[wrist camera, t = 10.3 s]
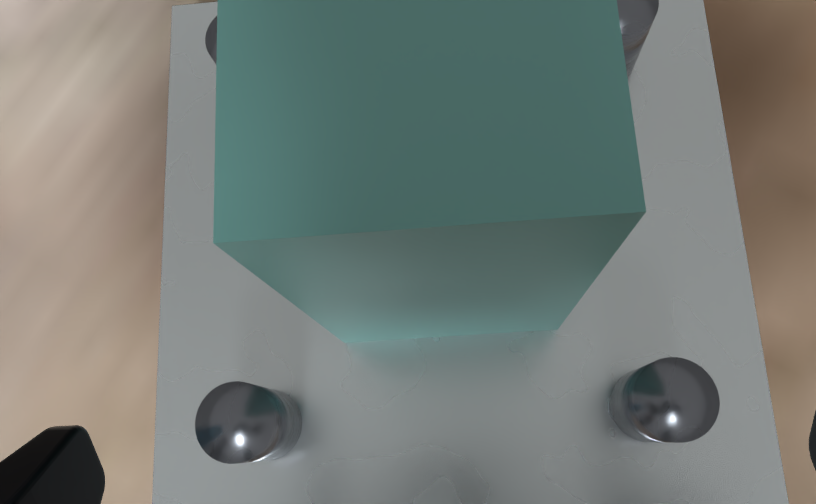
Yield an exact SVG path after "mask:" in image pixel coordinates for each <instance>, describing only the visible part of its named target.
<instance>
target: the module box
mask: <svg viewBox="0 0 816 504" xmlns="http://www.w3.org/2000/svg"><path fill="white" fill-rule="evenodd" d="M645 213H646V206H645V199H644V192H643V185H642V178H641V170H640V163H639V156H638V149H637V142H636V135H635V127H634V120H633V113H632V106H631V99H630V92H629V85H628V77H627V70H626V63H625V56H624V49H623V42H622V34H621V27H620V20H619V13H618V6H617V0H218V5H217V60H216V115H215V170H214V225H213V244H215V245H216V246H217V247H219V248H220V249H221V250H223V251H224V252H225V253H227V254H228V255H229V256H231V257H232V258H233V259H235V260H236V261H237V262H238V263H240V264H241V265H242V266H244V267H245V268H246V269H248V270H249V271H250V272H252V273H253V274H254V275H256V276H257V277H258V278H260V279H261V280H262V281H263V282H265V283H266V284H267V285H269V286H270V287H271V288H273V289H274V290H275V291H277V292H278V293H279V294H281V295H282V296H283V297H285V298H286V299H287V300H288V301H290V302H291V303H292V304H294V305H295V306H296V307H298V308H299V309H300V310H302V311H303V312H304V313H306V314H307V315H308V316H310V317H311V318H312V319H313V320H315V321H316V322H317V323H319V324H320V325H321V326H323V327H324V328H325V329H327V330H328V331H329V332H331V333H332V334H333V335H334V336H336V337H337V338H338V339H340V340H341V341H342V342H344V343H348V342H364V341H380V340H396V339H412V338H428V337H444V336H460V335H476V334H492V333H509V332H525V331H541V330H557V329H558V328H559V327H560V326H561V324H562V323H563V322H564V320H565V319H566V318H567V316H568V315H569V314H570V312H571V311H572V310H573V309H574V307H575V306H576V305H577V303H578V302H579V301H580V299H581V298H582V297H583V295H584V294H585V293H586V291H587V290H588V289H589V287H590V286H591V285H592V283H593V282H594V281H595V279H596V278H597V277H598V275H599V274H600V273H601V271H602V270H603V269H604V267H605V266H606V265H607V263H608V262H609V261H610V259H611V258H612V257H613V255H614V254H615V253H616V251H617V250H618V249H619V247H620V246H621V245H622V243H623V242H624V241H625V239H626V238H627V237H628V235H629V234H630V233H631V231H632V230H633V229H634V227H635V226H636V225H637V223H638V222H639V221H640V219H641V218H642V217H643V215H644V214H645Z"/></svg>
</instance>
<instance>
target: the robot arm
mask: <svg viewBox="0 0 816 504" xmlns="http://www.w3.org/2000/svg"><path fill="white" fill-rule="evenodd" d="M809 451H810V456H811V459H812V462H813V465H814V467H815V470H816V411H815V416H814V420H813V424H812V428H811V432H810V437H809ZM104 487H105V475H104V471H103V468H102V465H101V463H100V460H99V458H98V456H97V453H96V451H95V448H94V446H93V444H92V441H91V439H90V436H89V434H88V432H87V431H86V430H85V429H84V428H83V427H82V426H78V425H73V426H55V427H50V428H48V429H46V430H44V431H43V432H41V433H40V434H39V435H37V436H36V437H34V438H33V439H32V440H30V441H29V442H28V443H26V444H25V445H23V446H22V447H21V448H19V449H18V450H17V451H15V452H14V453H12V454H11V455H10V456H8V457H7V458H5V459H4V460H3V461H1V462H0V504H101V500H102V496H103V493H104Z"/></svg>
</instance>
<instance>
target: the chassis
mask: <svg viewBox="0 0 816 504" xmlns="http://www.w3.org/2000/svg"><path fill="white" fill-rule="evenodd" d="M217 5H218V2H209V3H198V4H187V5H177V6H172V22H171V47H170V72H169V97H168V122H167V147H166V172H165V197H164V222H163V247H162V272H161V297H160V322H159V347H158V372H157V397H156V422H155V447H154V472H153V497H152V504H789V502H788V496H787V491H786V485H785V479H784V473H783V467H782V461H781V455H780V449H779V443H778V438H777V432H776V426H775V420H774V414H773V408H772V402H771V396H770V390H769V385H768V379H767V373H766V367H765V361H764V355H763V349H762V343H761V337H760V332H759V326H758V320H757V314H756V308H755V302H754V296H753V290H752V284H751V279H750V273H749V267H748V261H747V255H746V249H745V243H744V237H743V231H742V226H741V220H740V214H739V208H738V202H737V196H736V190H735V184H734V178H733V173H732V167H731V161H730V155H729V149H728V143H727V137H726V131H725V125H724V120H723V114H722V108H721V102H720V96H719V90H718V84H717V78H716V72H715V67H714V61H713V55H712V49H711V43H710V37H709V31H708V25H707V19H706V14H705V8H704V2H703V0H617V6H618V13H619V20H620V27H621V34H622V42H623V49H624V56H625V63H626V70H627V77H628V85H629V92H630V99H631V106H632V113H633V120H634V127H635V135H636V142H637V149H638V156H639V163H640V170H641V178H642V185H643V192H644V199H645V206H646V213H645V214H644V215H643V217H642V218H641V219H640V221H639V222H638V223H637V225H636V226H635V227H634V229H633V230H632V231H631V233H630V234H629V235H628V237H627V238H626V239H625V241H624V242H623V243H622V245H621V246H620V247H619V249H618V250H617V251H616V253H615V254H614V255H613V257H612V258H611V259H610V261H609V262H608V263H607V265H606V266H605V267H604V269H603V270H602V271H601V273H600V274H599V275H598V277H597V278H596V279H595V281H594V282H593V283H592V285H591V286H590V287H589V289H588V290H587V291H586V293H585V294H584V295H583V297H582V298H581V299H580V301H579V302H578V303H577V305H576V306H575V307H574V309H573V310H572V311H571V312H570V314H569V315H568V316H567V318H566V319H565V320H564V322H563V323H562V324H561V326H560V327H559V328H558V329H557V330H541V331H525V332H509V333H492V334H476V335H460V336H444V337H428V338H412V339H396V340H380V341H364V342H348V343H344V342H342V341H341V340H340V339H338V338H337V337H336V336H334V335H333V334H332V333H331V332H329V331H328V330H327V329H325V328H324V327H323V326H321V325H320V324H319V323H317V322H316V321H315V320H313V319H312V318H311V317H310V316H308V315H307V314H306V313H304V312H303V311H302V310H300V309H299V308H298V307H296V306H295V305H294V304H292V303H291V302H290V301H288V300H287V299H286V298H285V297H283V296H282V295H281V294H279V293H278V292H277V291H275V290H274V289H273V288H271V287H270V286H269V285H267V284H266V283H265V282H263V281H262V280H261V279H260V278H258V277H257V276H256V275H254V274H253V273H252V272H250V271H249V270H248V269H246V268H245V267H244V266H242V265H241V264H240V263H238V262H237V261H236V260H235V259H233V258H232V257H231V256H229V255H228V254H227V253H225V252H224V251H223V250H221V249H220V248H219V247H217V246H216V245H215V244H213V225H214V170H215V115H216V60H217Z"/></svg>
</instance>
